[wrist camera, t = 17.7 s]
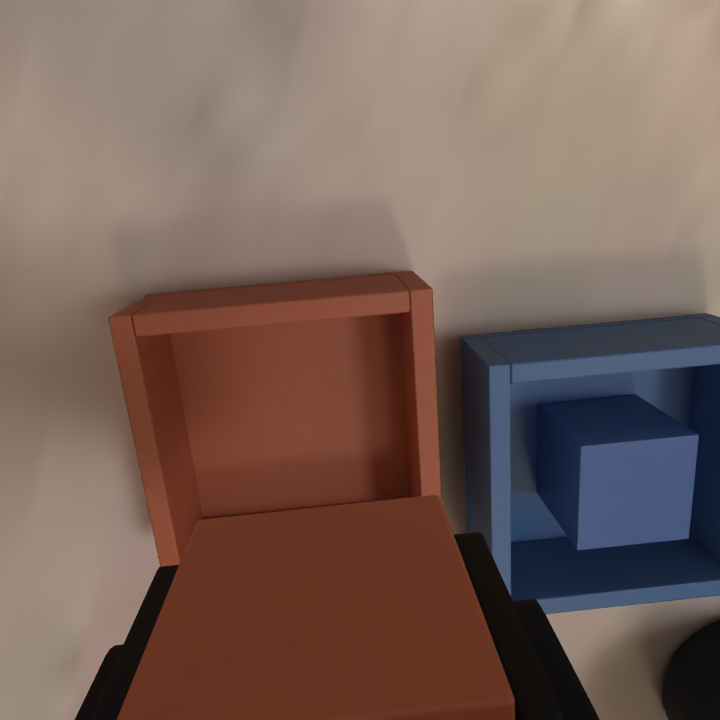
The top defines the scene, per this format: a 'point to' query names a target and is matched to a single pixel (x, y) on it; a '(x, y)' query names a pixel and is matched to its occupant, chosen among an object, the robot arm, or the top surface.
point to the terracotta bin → (279, 398)
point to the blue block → (615, 471)
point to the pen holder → (694, 678)
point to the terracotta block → (322, 622)
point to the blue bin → (519, 455)
